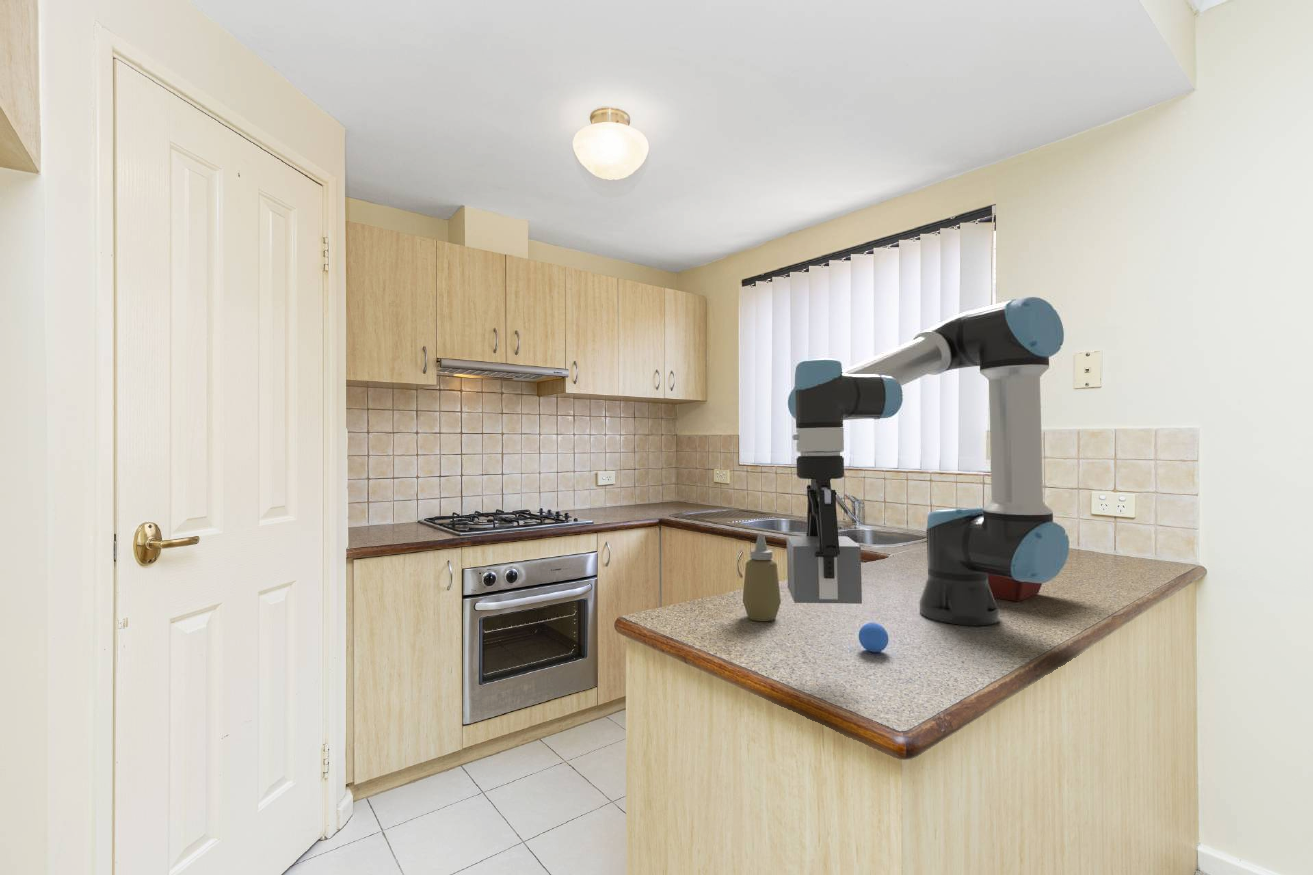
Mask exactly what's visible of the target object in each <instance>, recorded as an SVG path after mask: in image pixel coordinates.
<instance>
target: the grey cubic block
mask: <svg viewBox="0 0 1313 875" xmlns="http://www.w3.org/2000/svg"><path fill="white" fill-rule="evenodd" d="M838 538H839V549H840V554H839V555H837V584H838V599H819V571H818V557H815V553H816V552H819V551H820V550H819V541H818V536H806V535H803V536H799V535H797V536H796V535H793V536H792V535H791V536H790V535H789V536H787V535H786V564H787V565H786V568H787V574H786V576H787V577H786V578H787V589H788V592H789V594H790V596H791V598H792V600H793V602H794V604H849V605H850V604H852V605H854V604H857V605H858V604H860V605H861V604H863V594H862V593H863V592H862V591H863V590H862V589H863V588H862V550H861V545H859V544H858V543H857V542H855V541H854V540H853V539H852V538H850V537H848V536H846V535H845V536H843V535H840V536H839V535H838ZM826 547H830V546H826Z"/></svg>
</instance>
